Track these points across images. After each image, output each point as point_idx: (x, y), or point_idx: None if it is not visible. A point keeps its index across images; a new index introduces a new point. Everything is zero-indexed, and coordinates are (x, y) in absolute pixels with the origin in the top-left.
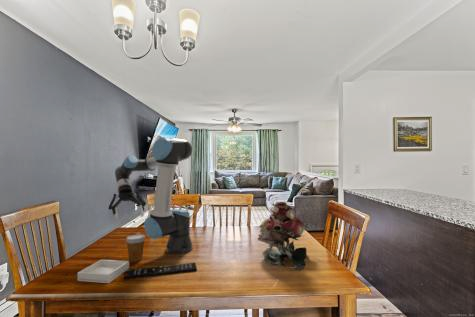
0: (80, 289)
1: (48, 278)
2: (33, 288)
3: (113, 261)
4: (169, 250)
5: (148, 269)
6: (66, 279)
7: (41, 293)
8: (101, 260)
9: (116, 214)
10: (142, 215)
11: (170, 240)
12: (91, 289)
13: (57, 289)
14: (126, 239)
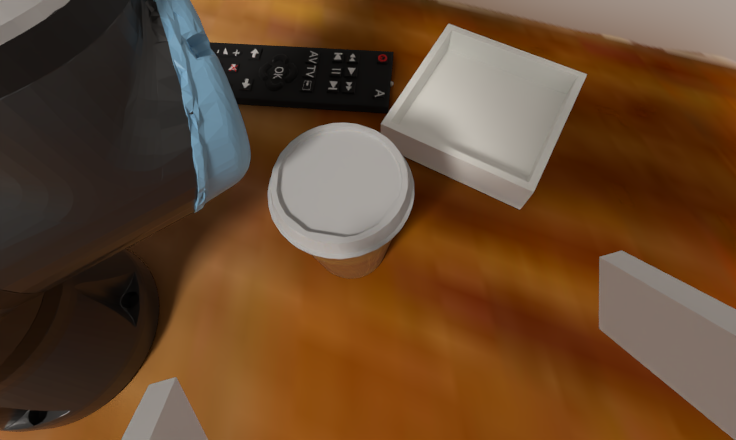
0: (529, 38)
1: (716, 156)
2: (713, 89)
3: (459, 153)
4: (143, 272)
5: (298, 84)
6: (625, 123)
7: (654, 49)
8: (528, 182)
9: (671, 279)
10: (184, 413)
11: (88, 272)
12: (491, 29)
13: (613, 59)
14: (409, 182)
